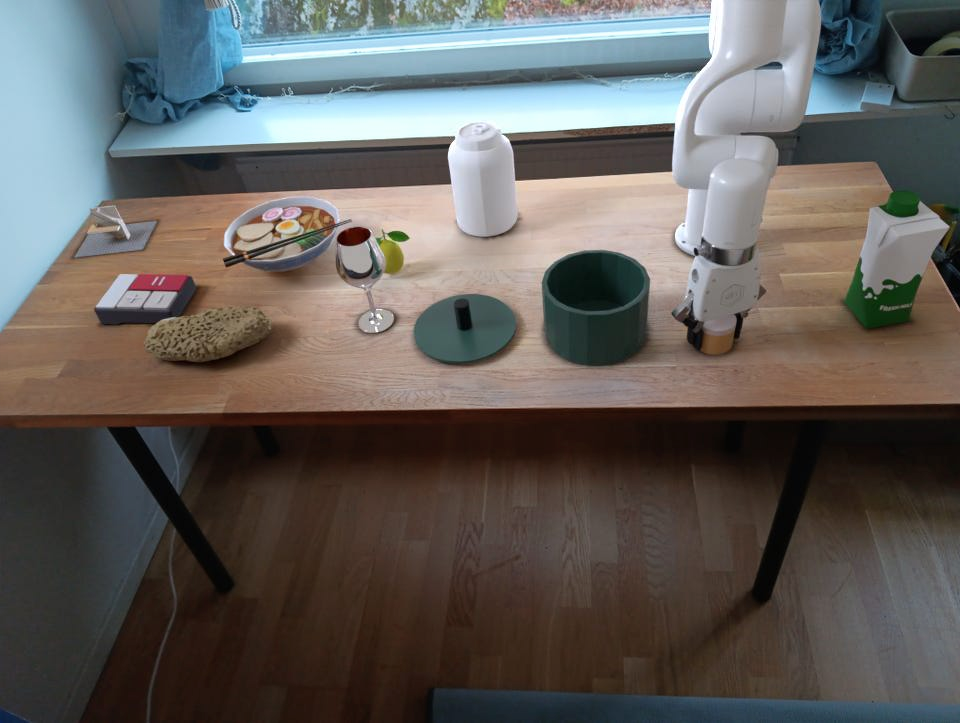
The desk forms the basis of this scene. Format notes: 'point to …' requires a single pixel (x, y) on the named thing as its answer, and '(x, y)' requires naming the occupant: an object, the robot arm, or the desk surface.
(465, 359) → the lid
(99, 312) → the calculator
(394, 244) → the lemon
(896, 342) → the desk surface
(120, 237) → the architectural model
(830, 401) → the desk surface
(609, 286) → the pot
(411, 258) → the desk surface
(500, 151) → the can
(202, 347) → the sponge
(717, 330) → the cake
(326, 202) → the ramen bowl
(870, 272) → the milk carton
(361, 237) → the wineglass
